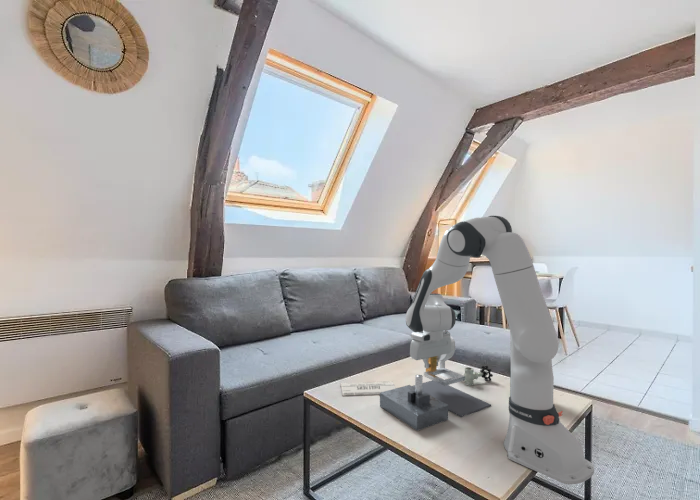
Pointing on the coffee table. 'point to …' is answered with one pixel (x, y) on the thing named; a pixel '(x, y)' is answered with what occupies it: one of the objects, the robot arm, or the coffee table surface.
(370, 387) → the newspaper
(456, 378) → the square frame with handle
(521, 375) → the robot arm
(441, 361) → the heart sculpture
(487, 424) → the coffee table surface
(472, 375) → the valve
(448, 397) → the mat
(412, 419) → the toggle switch
